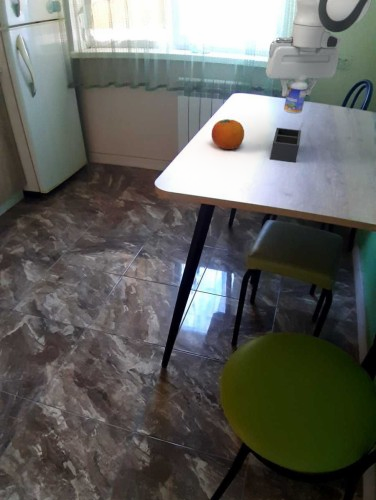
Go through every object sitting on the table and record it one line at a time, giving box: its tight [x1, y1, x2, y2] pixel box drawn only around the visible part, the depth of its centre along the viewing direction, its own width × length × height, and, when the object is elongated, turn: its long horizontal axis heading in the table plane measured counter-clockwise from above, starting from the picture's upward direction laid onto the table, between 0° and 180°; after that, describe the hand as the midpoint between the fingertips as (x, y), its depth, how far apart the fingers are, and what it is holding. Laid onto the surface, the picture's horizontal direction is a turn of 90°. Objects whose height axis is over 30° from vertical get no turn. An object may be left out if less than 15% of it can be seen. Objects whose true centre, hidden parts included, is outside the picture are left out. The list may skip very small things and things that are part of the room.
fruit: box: [211, 118, 245, 150], centre depth 133 cm, size 11×10×8 cm
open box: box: [269, 127, 302, 164], centre depth 133 cm, size 8×15×5 cm, turn 167°
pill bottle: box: [283, 75, 308, 114], centre depth 119 cm, size 5×5×10 cm
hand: (295, 95), depth 120 cm, fingers closed on pill bottle, 5 cm apart
